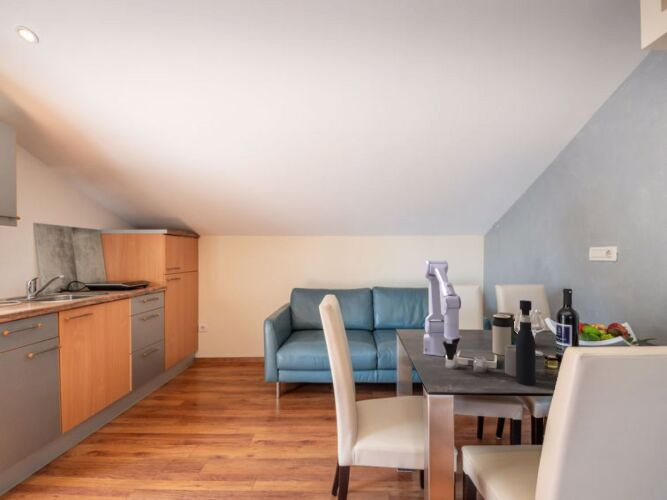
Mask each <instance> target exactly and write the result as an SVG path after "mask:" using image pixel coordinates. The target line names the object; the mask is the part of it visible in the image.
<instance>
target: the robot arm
mask: <svg viewBox="0 0 667 500" xmlns="http://www.w3.org/2000/svg"><path fill="white" fill-rule="evenodd" d="M423 267H424V278H425V279H427V280H428V286H429V287H428V288H429V303H430V304H429V305H430V314H428V315H427V316H426V317H425V319H424V320H425V321H424V322H425V323H424V330H425V333H424V334H423V353H422V354H423V355H430V356H438V357H445V356H446V354H447V359H448V360H453V358H454V354H456V355H457V349H458V344H459V342H460V340H461V339H462V338H463V336H462V335H460V331H459V330H460V327H459V325H460V324H459V322H460V321H459V319H460V317H459V316H460V313H459V312H460V311H459V310H460V309H461V307H462V299H461V296H460V295H458V293H456V292H455V289H454V286H453V284H452V283H451V282H449V279H448V275H447V273H448V270H449V264H448V261H447V260H427V259H426V261H425V262H424V266H423ZM441 297H442V301H441ZM442 311H443V314H444V315H443V314H442Z"/></svg>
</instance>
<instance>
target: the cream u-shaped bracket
mask: <svg viewBox="0 0 667 500" xmlns="http://www.w3.org/2000/svg"><path fill="white" fill-rule="evenodd" d="M456 355H458V364H459V365H464V366H465V365H466V366H467V365H468V366H473V367H474V357H483V358H486V368H488V369H497V361H498V360H497V359H498V354H495V353H487V352H486V353H485V352H478V351H467V350H458V351H457V353H456Z"/></svg>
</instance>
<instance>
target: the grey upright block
mask: <svg viewBox="0 0 667 500" xmlns="http://www.w3.org/2000/svg"><path fill="white" fill-rule="evenodd" d="M504 373H505V374H507V375H509V376H512V377H515V378H516V345H507V346H505V355H504Z"/></svg>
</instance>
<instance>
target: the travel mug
mask: <svg viewBox="0 0 667 500" xmlns="http://www.w3.org/2000/svg"><path fill="white" fill-rule="evenodd" d="M492 316H493V320H492V354H494V355H497V356H505V346H507V345H511V322H510V316H509V315H502V314H498V313H497V314H493V315H492Z"/></svg>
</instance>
